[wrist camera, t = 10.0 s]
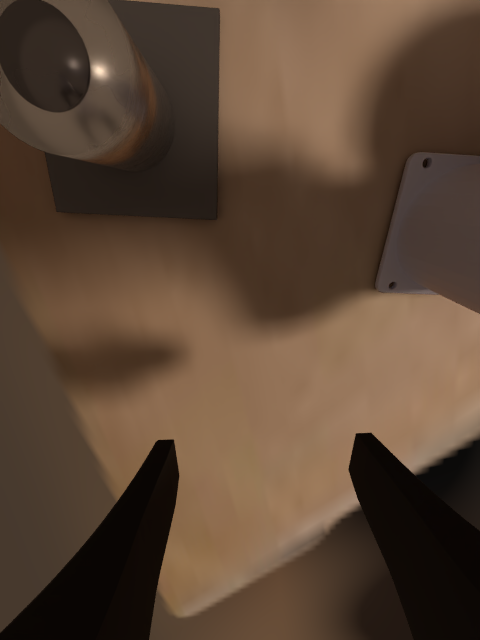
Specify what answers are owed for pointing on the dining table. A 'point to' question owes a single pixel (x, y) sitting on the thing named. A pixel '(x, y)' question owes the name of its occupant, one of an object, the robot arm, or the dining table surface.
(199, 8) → the rubber mat
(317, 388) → the dining table surface
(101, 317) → the dining table surface
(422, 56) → the dining table surface
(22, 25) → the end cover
